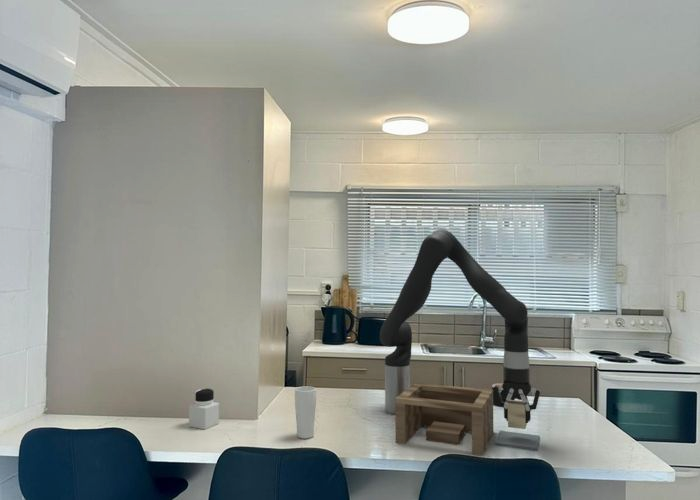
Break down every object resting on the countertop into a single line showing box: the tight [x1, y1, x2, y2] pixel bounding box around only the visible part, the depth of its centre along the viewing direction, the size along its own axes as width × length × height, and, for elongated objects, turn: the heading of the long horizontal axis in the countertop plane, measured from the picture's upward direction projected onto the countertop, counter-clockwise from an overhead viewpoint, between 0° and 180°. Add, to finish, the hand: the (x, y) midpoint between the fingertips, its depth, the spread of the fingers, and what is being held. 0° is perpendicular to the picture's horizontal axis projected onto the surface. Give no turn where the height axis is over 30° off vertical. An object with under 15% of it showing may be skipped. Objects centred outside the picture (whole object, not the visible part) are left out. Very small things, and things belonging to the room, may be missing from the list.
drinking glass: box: [294, 385, 317, 440], centre depth 157 cm, size 7×7×15 cm
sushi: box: [491, 382, 516, 408], centre depth 193 cm, size 8×8×8 cm
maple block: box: [507, 399, 528, 430], centre depth 152 cm, size 5×5×7 cm
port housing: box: [394, 382, 494, 457], centre depth 156 cm, size 22×26×14 cm
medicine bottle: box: [188, 388, 220, 430], centre depth 168 cm, size 7×7×12 cm
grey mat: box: [494, 430, 540, 452], centre depth 152 cm, size 12×12×1 cm
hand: (517, 421), depth 152 cm, fingers closed on maple block, 5 cm apart
